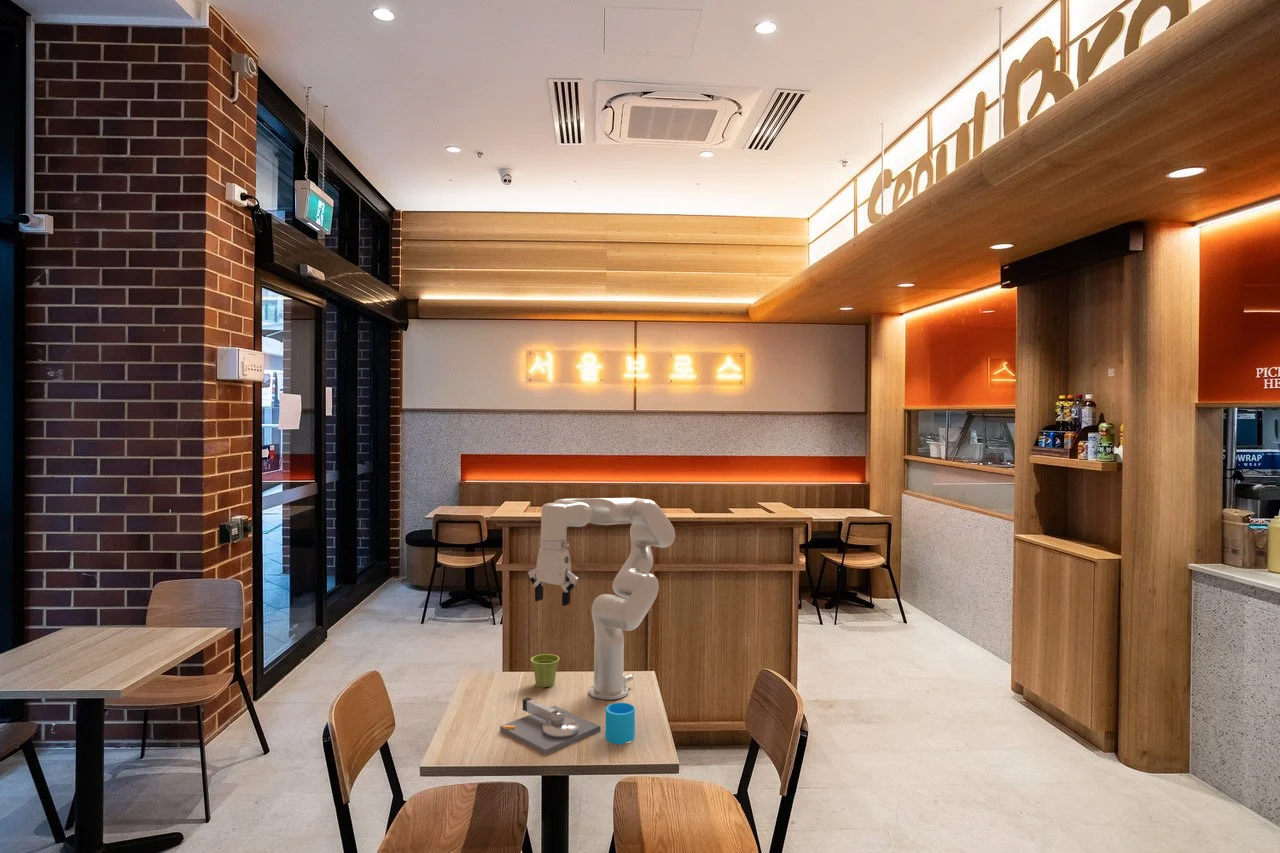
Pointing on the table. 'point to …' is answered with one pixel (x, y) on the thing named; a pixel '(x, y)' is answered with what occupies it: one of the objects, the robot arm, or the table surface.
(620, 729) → the mug
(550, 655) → the plant pot
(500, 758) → the table surface
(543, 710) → the lever
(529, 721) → the stand base
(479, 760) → the table surface
